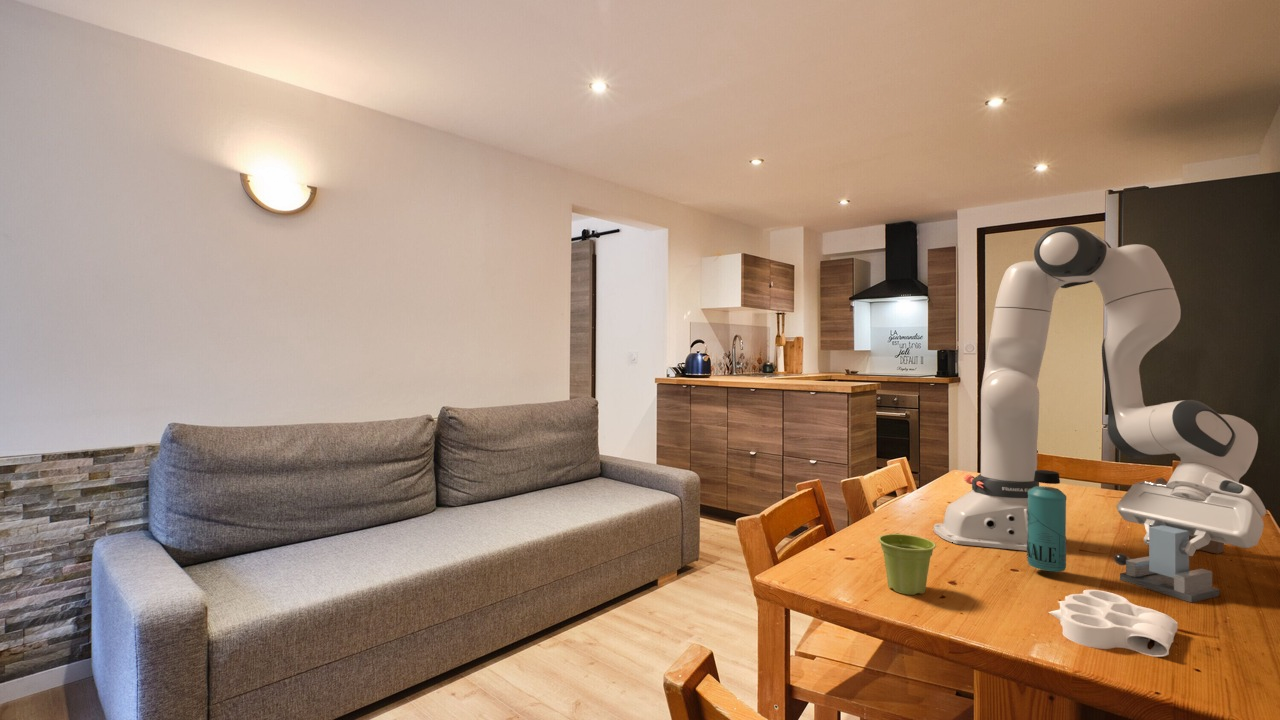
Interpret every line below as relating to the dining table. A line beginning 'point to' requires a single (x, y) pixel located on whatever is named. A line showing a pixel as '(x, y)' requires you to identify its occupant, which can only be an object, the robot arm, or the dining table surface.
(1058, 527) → the beverage bottle
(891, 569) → the plant pot
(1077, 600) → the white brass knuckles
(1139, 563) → the free jaw
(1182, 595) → the vise
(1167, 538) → the steel block
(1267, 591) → the dining table surface
